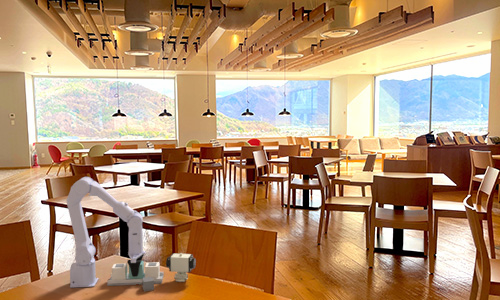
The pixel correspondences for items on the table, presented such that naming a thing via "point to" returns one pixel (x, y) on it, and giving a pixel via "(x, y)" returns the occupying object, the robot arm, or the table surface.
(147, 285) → the dark loose block
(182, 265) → the pneumatic valve
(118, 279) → the board
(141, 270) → the block
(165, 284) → the table surface
